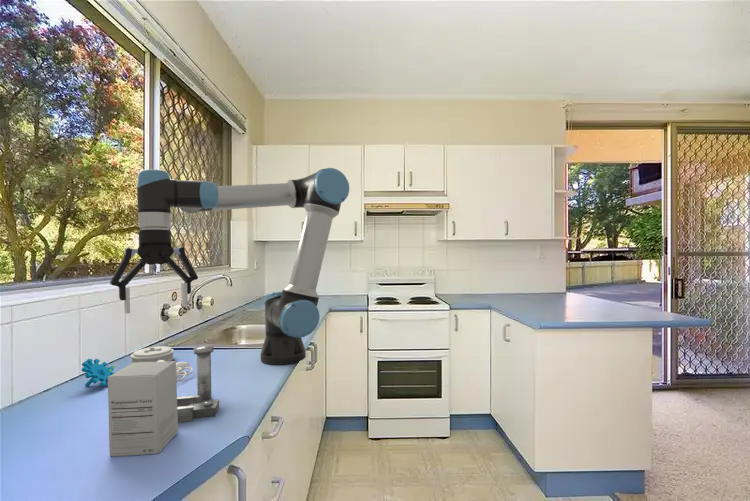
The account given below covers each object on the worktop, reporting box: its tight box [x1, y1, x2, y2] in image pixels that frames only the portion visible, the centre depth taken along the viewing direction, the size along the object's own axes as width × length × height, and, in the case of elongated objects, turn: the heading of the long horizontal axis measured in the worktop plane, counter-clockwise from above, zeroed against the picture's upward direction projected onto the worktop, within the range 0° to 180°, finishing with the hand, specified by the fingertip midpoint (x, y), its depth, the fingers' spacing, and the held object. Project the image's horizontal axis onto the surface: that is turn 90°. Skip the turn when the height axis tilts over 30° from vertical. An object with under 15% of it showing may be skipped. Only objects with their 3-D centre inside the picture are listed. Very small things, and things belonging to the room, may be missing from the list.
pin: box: [193, 344, 215, 401], centre depth 98 cm, size 5×5×13 cm
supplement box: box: [107, 360, 179, 457], centre depth 76 cm, size 9×9×15 cm
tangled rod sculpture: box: [157, 360, 194, 382], centre depth 111 cm, size 19×14×4 cm
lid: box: [130, 345, 175, 364], centre depth 130 cm, size 13×13×5 cm
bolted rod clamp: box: [177, 394, 220, 424], centre depth 88 cm, size 17×7×3 cm, turn 103°
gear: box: [80, 358, 116, 388], centre depth 109 cm, size 11×6×10 cm
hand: (157, 309), depth 103 cm, fingers open, 13 cm apart
